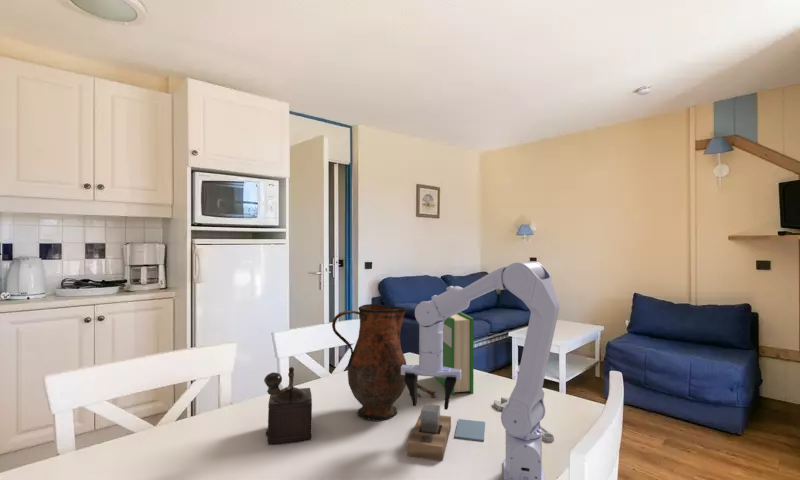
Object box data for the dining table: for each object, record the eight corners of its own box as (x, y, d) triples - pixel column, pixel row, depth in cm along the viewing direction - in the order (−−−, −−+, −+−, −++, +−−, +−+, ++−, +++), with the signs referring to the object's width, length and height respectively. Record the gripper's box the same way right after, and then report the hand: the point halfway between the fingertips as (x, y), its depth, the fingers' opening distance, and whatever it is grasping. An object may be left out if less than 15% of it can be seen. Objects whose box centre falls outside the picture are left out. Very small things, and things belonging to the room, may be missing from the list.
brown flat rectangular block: (442, 460, 88) (442, 446, 88) (407, 455, 90) (407, 442, 90) (450, 428, 104) (451, 416, 104) (420, 424, 106) (420, 412, 106)
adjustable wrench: (556, 443, 97) (556, 436, 97) (532, 446, 96) (532, 439, 96) (509, 402, 122) (509, 396, 122) (489, 404, 121) (489, 398, 121)
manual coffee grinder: (267, 426, 105) (267, 357, 105) (310, 421, 107) (311, 354, 107) (262, 457, 90) (263, 376, 90) (313, 451, 92) (313, 372, 92)
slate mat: (483, 441, 97) (483, 439, 97) (454, 437, 99) (454, 436, 99) (485, 423, 107) (485, 421, 107) (458, 420, 109) (458, 418, 109)
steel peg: (437, 446, 95) (437, 412, 95) (420, 444, 96) (421, 410, 96) (440, 438, 99) (440, 405, 99) (423, 436, 100) (424, 404, 100)
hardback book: (473, 393, 128) (473, 318, 128) (451, 395, 126) (451, 319, 127) (454, 375, 145) (454, 309, 145) (434, 376, 144) (434, 309, 144)
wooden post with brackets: (407, 392, 127) (413, 379, 127) (430, 403, 126) (436, 390, 126) (406, 394, 125) (412, 381, 125) (430, 405, 124) (436, 392, 124)
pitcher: (415, 422, 107) (415, 310, 107) (334, 432, 102) (335, 313, 102) (399, 399, 123) (399, 301, 123) (328, 406, 118) (329, 303, 118)
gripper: (462, 348, 99) (462, 402, 99) (405, 344, 103) (405, 397, 103) (459, 355, 93) (459, 414, 93) (398, 351, 96) (398, 408, 96)
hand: (430, 406), depth 97 cm, fingers open, 7 cm apart
